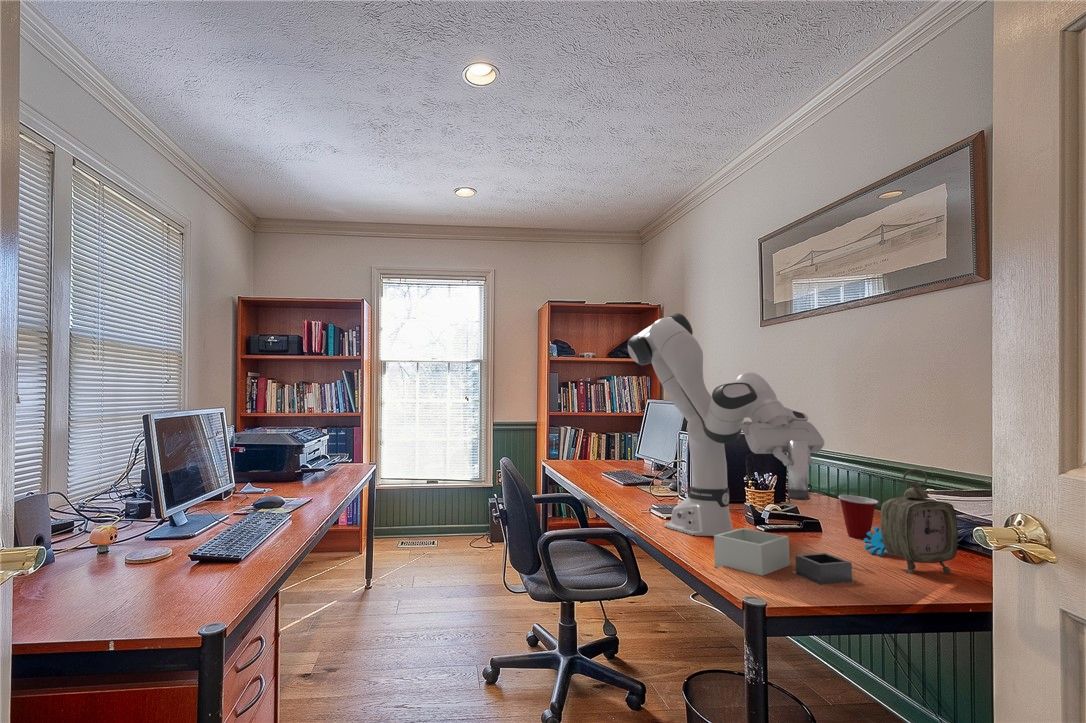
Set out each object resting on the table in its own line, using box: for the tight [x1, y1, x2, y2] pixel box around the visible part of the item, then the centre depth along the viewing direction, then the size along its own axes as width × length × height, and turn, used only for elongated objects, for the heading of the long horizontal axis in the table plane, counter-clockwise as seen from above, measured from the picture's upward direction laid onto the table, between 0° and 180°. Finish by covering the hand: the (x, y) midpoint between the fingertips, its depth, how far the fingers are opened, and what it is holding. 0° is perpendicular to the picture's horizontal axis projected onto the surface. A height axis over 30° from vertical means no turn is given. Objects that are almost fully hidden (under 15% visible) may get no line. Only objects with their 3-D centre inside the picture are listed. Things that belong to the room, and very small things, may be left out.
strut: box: [787, 440, 810, 501], centre depth 138 cm, size 5×5×14 cm
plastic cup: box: [837, 494, 879, 540], centre depth 174 cm, size 11×11×12 cm
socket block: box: [791, 552, 858, 586], centre depth 133 cm, size 10×10×5 cm
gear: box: [863, 526, 891, 557], centre depth 155 cm, size 11×6×10 cm
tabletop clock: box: [880, 468, 959, 575], centre depth 139 cm, size 14×9×25 cm, turn 101°
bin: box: [713, 527, 791, 576], centre depth 143 cm, size 13×13×8 cm
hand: (799, 464), depth 138 cm, fingers closed on strut, 4 cm apart
